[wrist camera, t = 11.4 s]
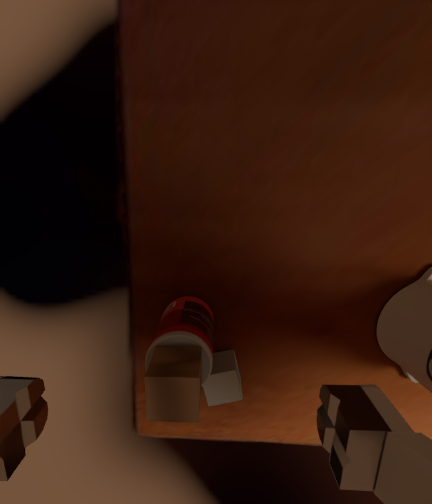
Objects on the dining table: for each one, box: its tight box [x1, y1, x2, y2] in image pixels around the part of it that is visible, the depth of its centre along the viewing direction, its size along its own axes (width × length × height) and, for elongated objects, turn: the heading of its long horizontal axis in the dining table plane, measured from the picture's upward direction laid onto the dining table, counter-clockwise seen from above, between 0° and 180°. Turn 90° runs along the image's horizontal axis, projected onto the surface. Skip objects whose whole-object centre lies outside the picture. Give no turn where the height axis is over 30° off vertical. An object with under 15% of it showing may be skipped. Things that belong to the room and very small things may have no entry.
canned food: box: [145, 296, 214, 387], centre depth 37 cm, size 8×8×11 cm
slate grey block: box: [203, 349, 243, 406], centre depth 42 cm, size 5×5×5 cm
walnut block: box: [145, 346, 202, 422], centre depth 29 cm, size 5×5×5 cm
